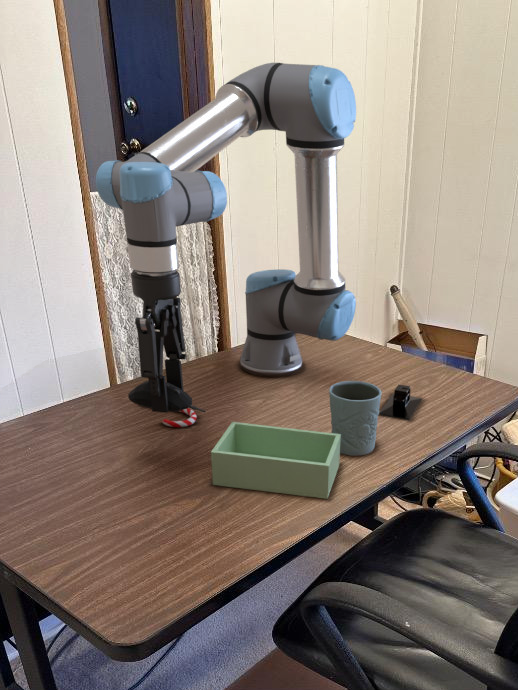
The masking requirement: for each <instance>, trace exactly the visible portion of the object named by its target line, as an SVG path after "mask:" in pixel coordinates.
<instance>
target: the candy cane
mask: <svg viewBox="0 0 518 690" xmlns="http://www.w3.org/2000/svg"><path fill="white" fill-rule="evenodd" d="M177 412H178V413H183V414H185V415H188V417H189V418H187V419H183V420H178V421H177V420H175V421H174V420H169V419H167V418H164V419H163V420H162V424H163V425H165V426H166V427H171V428H185V427H189V426H191V425H193V424H195V422H196V421H197V419H198V416H197V413H196V412H195V410H193V409H191V408H187V409H184V410H181V411H177Z"/></svg>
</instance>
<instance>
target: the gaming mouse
mask: <svg viewBox="0 0 518 690" xmlns="http://www.w3.org/2000/svg"><path fill="white" fill-rule="evenodd" d="M166 388H167V398H168V408H169V412H178V411H181V410H184V409H187V408H189V409H191V410H193V411H199V412H202V413H206V409H202V408H201V407H198V406H196V405H193V398H192V396H190V395H189V393H188V392H186V391H183V390H184V389H183V390H181V389H180V388H178V387H176V386H174V385H172V384H170V383H168V382H167V381H166ZM127 397H128V400H129V401H130V402H131V403H133V404H136V405H137V406H140V407H145V408H150V409H152V406H151V398H150V389H149V380H144V381H143V382H142V383H139V384H138V385H137V386H135V387H134V388H132V390H131V391H130V392H129V393H128V395H127Z"/></svg>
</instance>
